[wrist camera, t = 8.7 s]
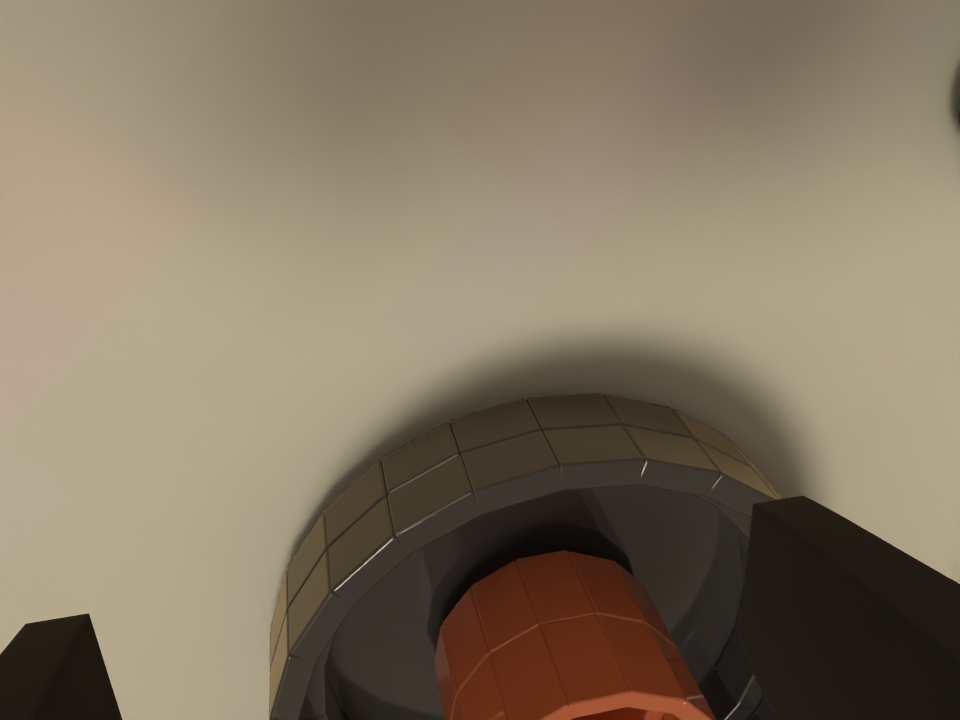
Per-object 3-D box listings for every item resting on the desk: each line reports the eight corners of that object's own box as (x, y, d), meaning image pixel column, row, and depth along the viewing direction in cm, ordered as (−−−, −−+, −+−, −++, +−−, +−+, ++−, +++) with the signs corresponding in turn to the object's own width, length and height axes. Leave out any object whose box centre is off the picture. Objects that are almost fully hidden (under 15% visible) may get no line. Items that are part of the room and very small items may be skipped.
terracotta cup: (530, 738, 24) (584, 916, 20) (383, 641, 22) (410, 820, 17) (685, 612, 23) (776, 771, 19) (550, 497, 21) (620, 649, 16)
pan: (513, 854, 27) (540, 965, 24) (153, 651, 21) (134, 766, 18) (863, 579, 24) (939, 667, 22) (568, 269, 19) (619, 333, 16)
